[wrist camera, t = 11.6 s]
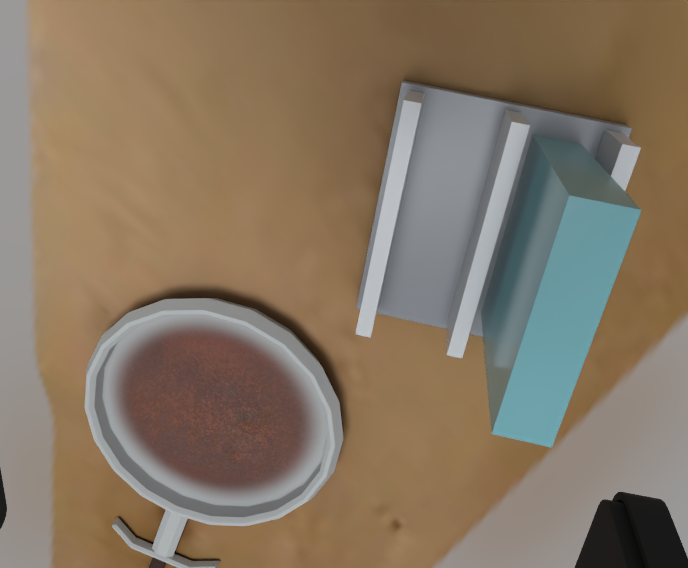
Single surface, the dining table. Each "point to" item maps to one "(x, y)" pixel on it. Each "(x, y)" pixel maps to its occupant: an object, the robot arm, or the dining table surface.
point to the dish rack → (459, 201)
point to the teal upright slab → (551, 285)
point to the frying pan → (210, 417)
